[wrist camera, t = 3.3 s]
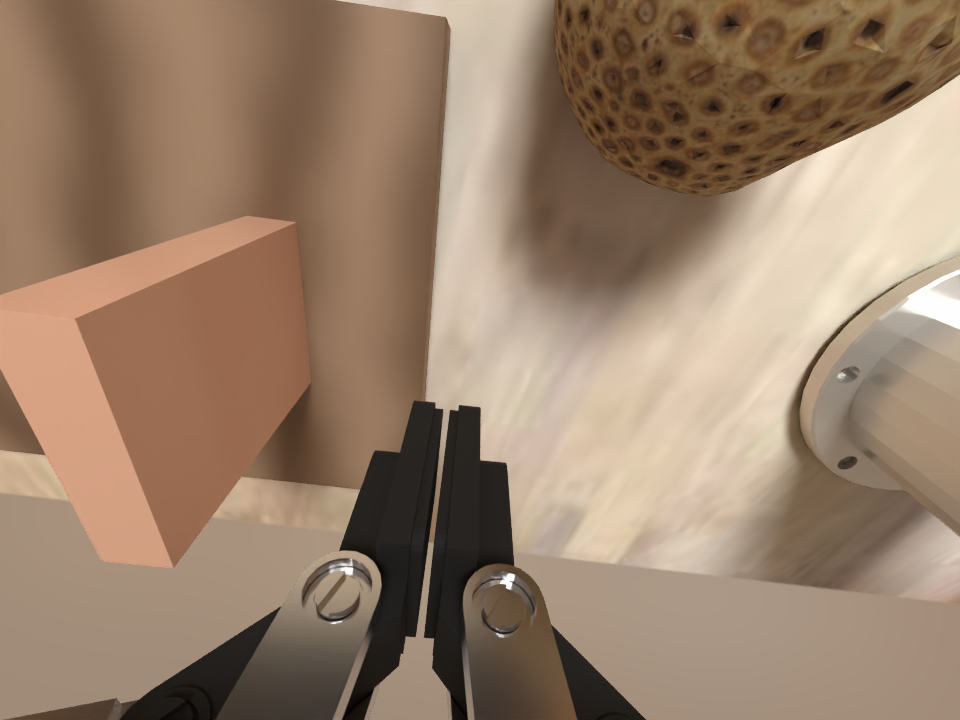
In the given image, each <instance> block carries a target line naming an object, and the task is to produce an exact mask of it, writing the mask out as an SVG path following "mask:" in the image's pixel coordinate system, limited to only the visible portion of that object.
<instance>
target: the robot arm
mask: <svg viewBox="0 0 960 720" xmlns="http://www.w3.org/2000/svg"><path fill="white" fill-rule="evenodd" d="M480 413H481V410H480V407H472V406H462V405H459V410H458V411H455V410H450V415H449V423H448V431H447V440H446V448H445V456H444V465H443V473H442V481H441V489H440V498H439V506H438V514H437V522H436V531H435V539H434V548H433V558H432V567H431V577H430V586H429V595H428V605H427V615H426V624H425V634H424V638H434V647H433V666H432V668H433V670H434V671H435V673H436V674H437V675H438V677H439V678H440V679H441V681H442V682H443V684H444V685H445V686H446V688H447V704H448V720H646V719H645V718H644V717H643V716H642V715H641V714H640V713H639V712H638V711H637V710H636V709H635V708H634V707H633V706H632V705H631V704H630V703H629V702H628V701H627V700H626V699H625V698H624V697H623V696H622V695H621V694H620V693H619V692H618V691H617V690H616V689H615V688H614V687H613V686H612V685H611V684H610V683H609V682H608V681H607V680H606V679H605V678H604V677H603V676H602V675H601V674H600V673H599V672H598V671H597V670H596V669H595V668H594V667H593V666H592V665H591V664H590V663H589V662H588V661H587V660H586V659H585V658H584V657H583V656H582V655H581V654H580V653H579V652H578V651H577V650H576V649H575V648H574V647H573V646H572V645H571V644H570V643H569V642H568V641H567V640H566V639H565V638H564V637H563V636H562V635H561V634H560V633H559V632H558V631H557V630H556V629H555V628H554V627H553V626H552V625H551V623H550V619H549V615H548V611H547V608H546V604H545V601H544V598H543V596H542V593H541V591H540V588H539V586H537V584H536V583H535V581H534V580H533V579H532V578H531V577H530V576H529V575H528V574H526V573H525V572H524V571H522V570H521V569H519V568H516V567H514V556H513V542H512V528H511V514H510V500H509V487H508V473H507V465H506V463H501V462H491V461H481V460H480ZM442 418H443V409H435V403H434V402H424V401H415V400H414V401H413V404H412V408H411V412H410V416H409V420H408V423H407V427H406V431H405V435H404V439H403V442H402V446H401V450H400V453H399V452H389V451H379V450H375V451H374V453H373V455H372V458H371V460H370V463H369V466H368V469H367V472H366V475H365V478H364V481H363V484H362V486H361V489H360V492H359V495H358V498H357V501H356V504H355V507H354V509H353V512H352V515H351V518H350V521H349V524H348V527H347V530H346V533H345V535H344V539H343V541H342V544H341V547H340V550H339V551H338V552H333V553H329V554H327V555H325V556H323V557H321V558H318V559H317V560H316V561H314V562H313V563H312V564H310V565H309V566H308V567H307V568H306V569H305V570H304V571H303V573H302V574H301V575H300V577H299V578H298V579H297V581H296V583H295V584H294V586H293V588H292V590H291V591H290V593H289V595H288V596H287V598H286V600H285V601H284V603H283V605H282V606H281V607H279V608H278V609H276V610H275V611H273V612H271V613H270V614H269V615H267V616H265V617H264V618H262V619H261V620H259V621H258V622H256V623H255V624H253V625H251V626H250V627H248V628H247V629H245V630H244V631H242V632H241V633H239V634H238V635H236V636H234V637H233V638H231V639H230V640H228V641H227V642H225V643H224V644H222V645H220V646H219V647H217V648H216V649H214V650H213V651H211V652H210V653H208V654H207V655H205V656H203V657H202V658H201V659H199V660H197V661H196V662H194V663H193V664H191V665H190V666H188V667H186V668H185V669H183V670H182V671H180V672H179V673H177V674H176V675H174V676H173V677H171V678H170V679H168V680H166V681H165V682H163V683H162V684H160V685H159V686H157V687H155V688H154V689H153V690H151V691H150V692H148V693H147V694H146V695H145V696H143V697H142V698H141V699H139V700H135V701H130V702H125V703H120V702H119V701H118V700H117V698H115V699H109V700H104V701H99V702H94V703H89V704H83V705H78V706H73V707H68V708H63V709H58V710H52V711H47V712H42V713H36V714H31V715H26V716H21V717H15V718H10V719H5V720H369V718H370V715H371V712H372V708H373V705H374V703H375V699H376V696H377V693H378V690H379V684H380V682H381V681H383V679H385V678H386V677H387V676H388V675H389V674H390V673H391V672H392V671H393V670H395V669H396V668H397V667H398V666H399V661H400V655H401V653H402V654H403V650H404V644H405V637H406V636H408V637H415V636H416V631H417V623H418V616H419V609H420V601H421V593H422V586H423V579H424V572H425V564H426V556H427V549H428V542H429V535H430V527H431V520H432V512H433V505H434V497H435V489H436V479H437V469H438V459H439V448H440V438H441V428H442ZM800 427H801V431H802V434H803V436H804V439H805V442H806V444H807V446H808V447H809V448H810V449H811V451H812V452H813V453H814V455H815V456H816V457H817V458H818V459H819V460H820V461H821V462H822V463H823V464H824V465H825V466H826V467H827V468H828V469H829V470H830V471H832V472H833V473H834V474H836V475H838V476H840V477H842V478H843V479H845V480H847V481H849V482H851V483H855V484H858V485H862V486H865V487H868V488H875V489H884V490H905V491H906V492H908V493H909V494H910V495H911V496H912V497H913V498H915V499H916V500H917V501H918V502H919V503H920V504H922V505H923V506H924V507H925V508H926V509H927V510H929V511H930V512H931V513H932V514H933V515H934V516H936V517H937V518H938V519H939V520H940V521H941V522H943V523H944V524H945V525H946V526H947V527H948V528H950V529H951V530H952V531H953V532H954V533H955V534H957V535H958V536H959V537H960V256H957V257H955V258H952V259H949V260H946V261H944V262H941V263H939V264H937V265H935V266H933V267H931V268H929V269H927V270H925V271H923V272H921V273H919V274H917V275H915V276H913V277H911V278H909V279H907V280H905V281H904V282H902V283H901V284H899V285H898V286H896V287H895V288H893V289H892V290H890V291H889V292H887V293H886V294H884V295H883V296H881V297H880V298H878V299H877V300H875V301H874V302H873V303H872V304H870V305H869V306H868V307H867V308H866V309H865V310H863V311H862V312H861V313H860V314H859V315H858V316H856V317H855V318H854V319H853V320H852V321H850V322H849V323H848V324H847V326H846V327H845V328H844V329H843V330H842V331H841V332H840V333H839V334H838V336H837V337H836V338H835V339H834V340H833V341H832V342H831V343H830V344H829V346H828V347H827V349H826V350H825V352H824V353H823V355H822V356H821V358H820V359H819V361H818V362H817V364H816V365H815V367H814V368H813V370H812V372H811V375H810V377H809V379H808V381H807V384H806V386H805V388H804V391H803V396H802V401H801V406H800Z"/></svg>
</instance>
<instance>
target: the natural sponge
mask: <svg viewBox="0 0 960 720" xmlns="http://www.w3.org/2000/svg"><path fill="white" fill-rule="evenodd" d="M554 42H555V50H556V58H557V65H558V70H559V74H560V79H561V82H562V85H563V88H564V91H565V94H566V97H567V99H568V102H569V105H570V107H571V109H572V111H573V113H574V115H575V117H576V119H577V120H578V122H579V124H580V126H581V127H582V129H583V131H584V133H585V134H586V136H587V138H588V139H589V140H590V141H591V143H592V144H593V145H594V146H595V147H596V148H597V149H598V151H599V152H600V153H601V154H602V156H603V157H604V158H605V159H606V160H607V161H609V162H611V163H612V164H614V165H615V166H617V167H619V168H620V169H622V170H624V171H626V172H627V173H629V174H631V175H633V176H634V177H636V178H638V179H640V180H643V181H645V182H647V183H649V184H652V185H655V186H658V187H661V188H665V189H669V190H672V191H676V192H680V193H687V194H694V195H700V196H712V195H717V194H723V193H727V192H732V191H736V190H738V189H740V188H742V187H744V186H746V185H748V184H750V183H752V182H754V181H757V180H759V179H761V178H764V177H766V176H768V175H771V174H773V173H775V172H777V171H778V170H780V169H782V168H784V167H786V166H788V165H790V164H792V163H794V162H796V161H798V160H800V159H802V158H805V157H807V156H809V155H812V154H814V153H816V152H818V151H821V150H823V149H825V148H827V147H830V146H832V145H834V144H836V143H839V142H841V141H843V140H845V139H847V138H849V137H852V136H854V135H856V134H858V133H860V132H863V131H865V130H867V129H869V128H871V127H874V126H876V125H878V124H880V123H882V122H884V121H886V120H887V119H889V118H891V117H893V116H895V115H897V114H899V113H900V112H902V111H904V110H906V109H908V108H910V107H911V106H913V105H914V104H916V103H918V102H919V101H921V100H922V99H924V98H925V97H927V96H928V95H930V94H932V93H933V92H935V91H936V90H938V89H939V88H941V87H942V86H944V85H945V84H947V83H948V82H949V81H951V80H952V79H954V78H955V77H957V76H958V75H960V0H555V10H554Z"/></svg>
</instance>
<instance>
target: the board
mask: <svg viewBox="0 0 960 720" xmlns="http://www.w3.org/2000/svg"><path fill="white" fill-rule="evenodd" d="M450 30H451V29H450V26H449V24H448V21H447V19H446V17H441V16H434V15H428V14H421V13H415V12H408V11H401V10H395V9H388V8H382V7H375V6H368V5H362V4H355V3H349V2H342V1H336V0H0V295H2V294H5V293H8V292H11V291H14V290H17V289H20V288H23V287H27V286H30V285H33V284H36V283H39V282H42V281H45V280H48V279H51V278H55V277H58V276H61V275H64V274H67V273H70V272H73V271H76V270H79V269H83V268H86V267H89V266H92V265H95V264H98V263H101V262H104V261H107V260H111V259H114V258H117V257H120V256H123V255H126V254H129V253H132V252H135V251H139V250H142V249H145V248H148V247H151V246H154V245H157V244H160V243H163V242H167V241H170V240H173V239H176V238H179V237H182V236H185V235H188V234H191V233H195V232H198V231H201V230H204V229H207V228H210V227H213V226H216V225H219V224H223V223H226V222H229V221H232V220H235V219H238V218H241V217H244V216H253V217H260V218H268V219H275V220H283V221H291V222H296V224H297V235H298V246H299V256H300V267H301V277H302V288H303V299H304V309H305V320H306V331H307V341H308V352H309V362H310V373H311V383H310V384H309V386H308V387H307V389H306V390H305V391H304V393H303V394H302V395H301V397H300V398H299V399H298V401H297V402H296V403H295V405H294V406H293V407H292V409H291V410H290V412H289V413H288V414H287V416H286V417H285V418H284V420H283V421H282V422H281V424H280V425H279V426H278V428H277V429H276V430H275V432H274V433H273V435H272V436H271V437H270V439H269V440H268V441H267V443H266V444H265V445H264V447H263V448H262V449H261V451H260V452H259V453H258V455H257V456H256V458H255V459H254V460H253V462H252V463H251V464H250V466H249V467H248V468H247V470H246V471H245V472H244V474H243V475H242V476H243V477H252V478H262V479H271V480H280V481H289V482H298V483H307V484H317V485H326V486H335V487H344V488H353V489H361V486H362V484H363V481H364V478H365V475H366V472H367V469H368V466H369V463H370V460H371V458H372V455H373V453H374V451H375V450H379V451H389V452H399V453H400V450H401V446H402V442H403V439H404V435H405V431H406V427H407V423H408V420H409V416H410V412H411V408H412V404H413V401H414V400H415V401H424V402H425V390H426V376H427V361H428V347H429V332H430V318H431V304H432V289H433V275H434V260H435V246H436V232H437V217H438V203H439V188H440V174H441V160H442V145H443V131H444V116H445V102H446V88H447V73H448V59H449V44H450ZM0 450H5V451H14V452H24V453H33V454H42V455H46V454H45V452H44V451H43V449H42V447H41V445H40V443H39V441H38V439H37V437H36V435H35V433H34V432H33V430H32V428H31V426H30V424H29V422H28V420H27V418H26V416H25V415H24V413H23V411H22V409H21V407H20V405H19V403H18V401H17V399H16V397H15V396H14V394H13V392H12V390H11V388H10V386H9V384H8V382H7V380H6V379H5V377H4V375H3V373H2V371H1V369H0Z"/></svg>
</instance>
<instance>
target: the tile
mask: <svg viewBox="0 0 960 720" xmlns="http://www.w3.org/2000/svg"><path fill="white" fill-rule="evenodd" d="M0 369H1V371H2V373H3V375H4V377H5V379H6V380H7V382H8V384H9V386H10V388H11V390H12V392H13V394H14V396H15V397H16V399H17V401H18V403H19V405H20V407H21V409H22V411H23V413H24V415H25V416H26V418H27V420H28V422H29V424H30V426H31V428H32V430H33V432H34V433H35V435H36V437H37V439H38V441H39V443H40V445H41V447H42V449H43V451H44V452H45V454H46V456H47V458H48V460H49V462H50V464H51V466H52V468H53V469H54V471H55V473H56V475H57V477H58V479H59V481H60V483H61V485H62V486H63V488H64V490H65V492H66V494H67V496H68V498H69V500H70V502H71V503H72V505H73V507H74V509H75V511H76V513H77V515H78V517H79V519H80V521H81V522H82V524H83V526H84V528H85V530H86V532H87V533H88V536H89V537H90V539H91V541H92V543H93V545H94V547H95V549H96V551H97V552H98V555H99V557H100V558H101V560H102V561H107V562H117V563H128V564H137V565H147V566H157V567H168V568H174V567H175V566H176V564H177V563H178V561H179V560H180V559H181V558H182V556H183V555H184V554H185V552H186V551H187V549H188V548H189V547H190V545H191V544H192V543H193V541H194V540H195V538H196V537H197V536H198V535H199V533H200V532H201V530H202V529H203V528H204V526H205V525H206V524H207V522H208V521H209V520H210V518H211V517H212V516H213V514H214V513H215V512H216V510H217V509H218V508H219V506H220V505H221V503H222V502H223V501H224V499H225V498H226V497H227V495H228V494H229V493H230V491H231V490H232V489H233V487H234V486H235V485H236V483H237V482H238V480H239V479H240V478H241V476H242V475H243V474H244V472H245V471H246V470H247V468H248V467H249V466H250V464H251V463H252V462H253V460H254V459H255V458H256V456H257V455H258V453H259V452H260V451H261V449H262V448H263V447H264V445H265V444H266V443H267V441H268V440H269V439H270V437H271V436H272V435H273V433H274V432H275V430H276V429H277V428H278V426H279V425H280V424H281V422H282V421H283V420H284V418H285V417H286V416H287V414H288V413H289V412H290V410H291V409H292V407H293V406H294V405H295V403H296V402H297V401H298V399H299V398H300V397H301V395H302V394H303V393H304V391H305V390H306V389H307V387H308V386H309V384H310V383H311V373H310V362H309V352H308V341H307V331H306V320H305V309H304V299H303V288H302V277H301V267H300V256H299V246H298V235H297V224H296V222H291V221H283V220H275V219H268V218H260V217H253V216H244V217H241V218H238V219H235V220H232V221H229V222H226V223H223V224H219V225H216V226H213V227H210V228H207V229H204V230H201V231H198V232H195V233H191V234H188V235H185V236H182V237H179V238H176V239H173V240H170V241H167V242H163V243H160V244H157V245H154V246H151V247H148V248H145V249H142V250H139V251H135V252H132V253H129V254H126V255H123V256H120V257H117V258H114V259H111V260H107V261H104V262H101V263H98V264H95V265H92V266H89V267H86V268H83V269H79V270H76V271H73V272H70V273H67V274H64V275H61V276H58V277H55V278H51V279H48V280H45V281H42V282H39V283H36V284H33V285H30V286H27V287H23V288H20V289H17V290H14V291H11V292H8V293H5V294H2V295H0Z"/></svg>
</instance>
